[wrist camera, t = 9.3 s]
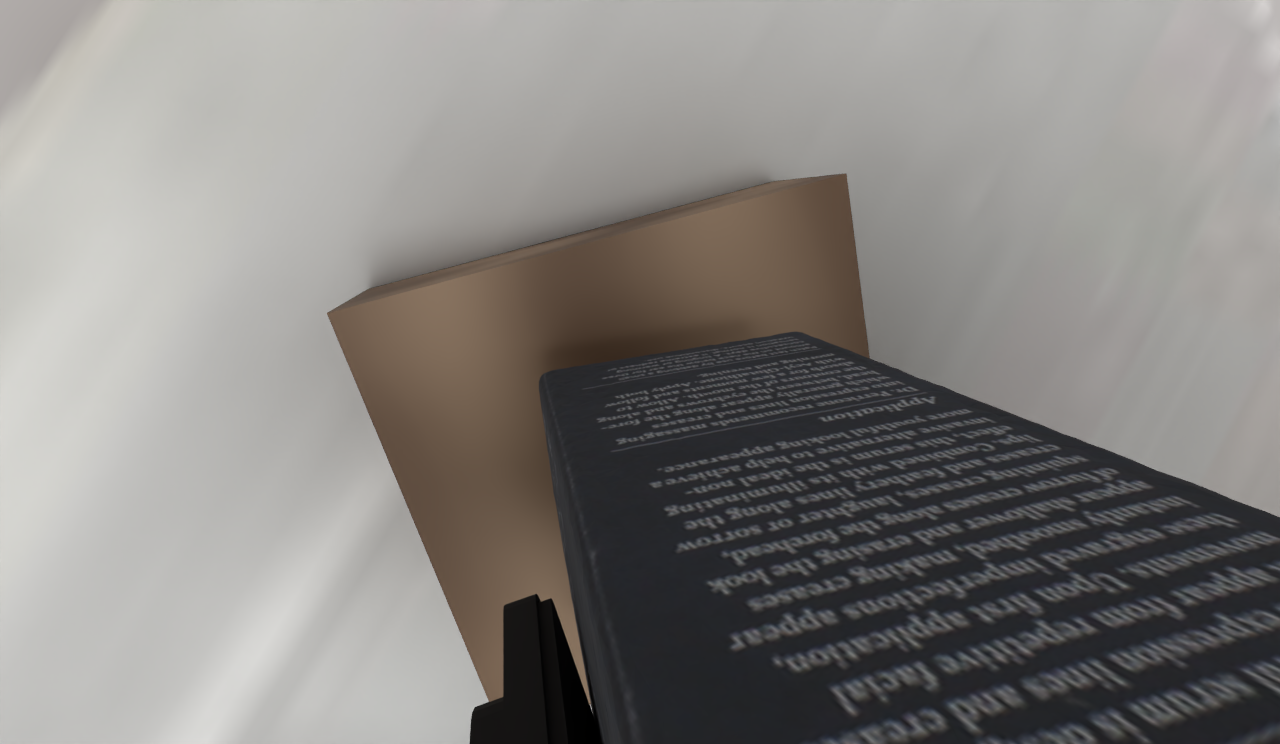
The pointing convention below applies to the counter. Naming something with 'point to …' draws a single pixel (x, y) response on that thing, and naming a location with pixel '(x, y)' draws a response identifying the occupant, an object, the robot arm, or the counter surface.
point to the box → (891, 564)
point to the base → (566, 337)
